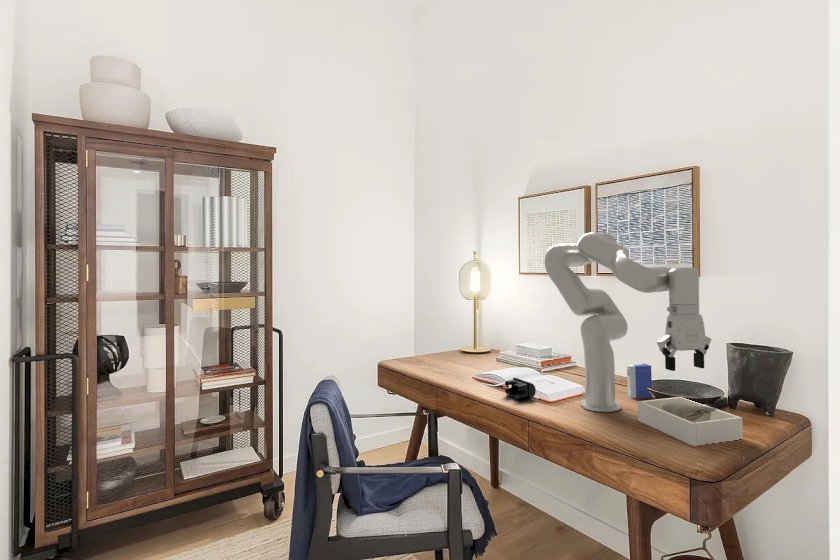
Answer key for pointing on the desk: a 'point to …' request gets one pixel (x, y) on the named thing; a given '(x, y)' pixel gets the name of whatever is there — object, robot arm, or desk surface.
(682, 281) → the robot arm
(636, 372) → the walkman
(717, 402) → the disk drive
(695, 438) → the walled box
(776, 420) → the desk surface
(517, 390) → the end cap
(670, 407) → the decorative bird
